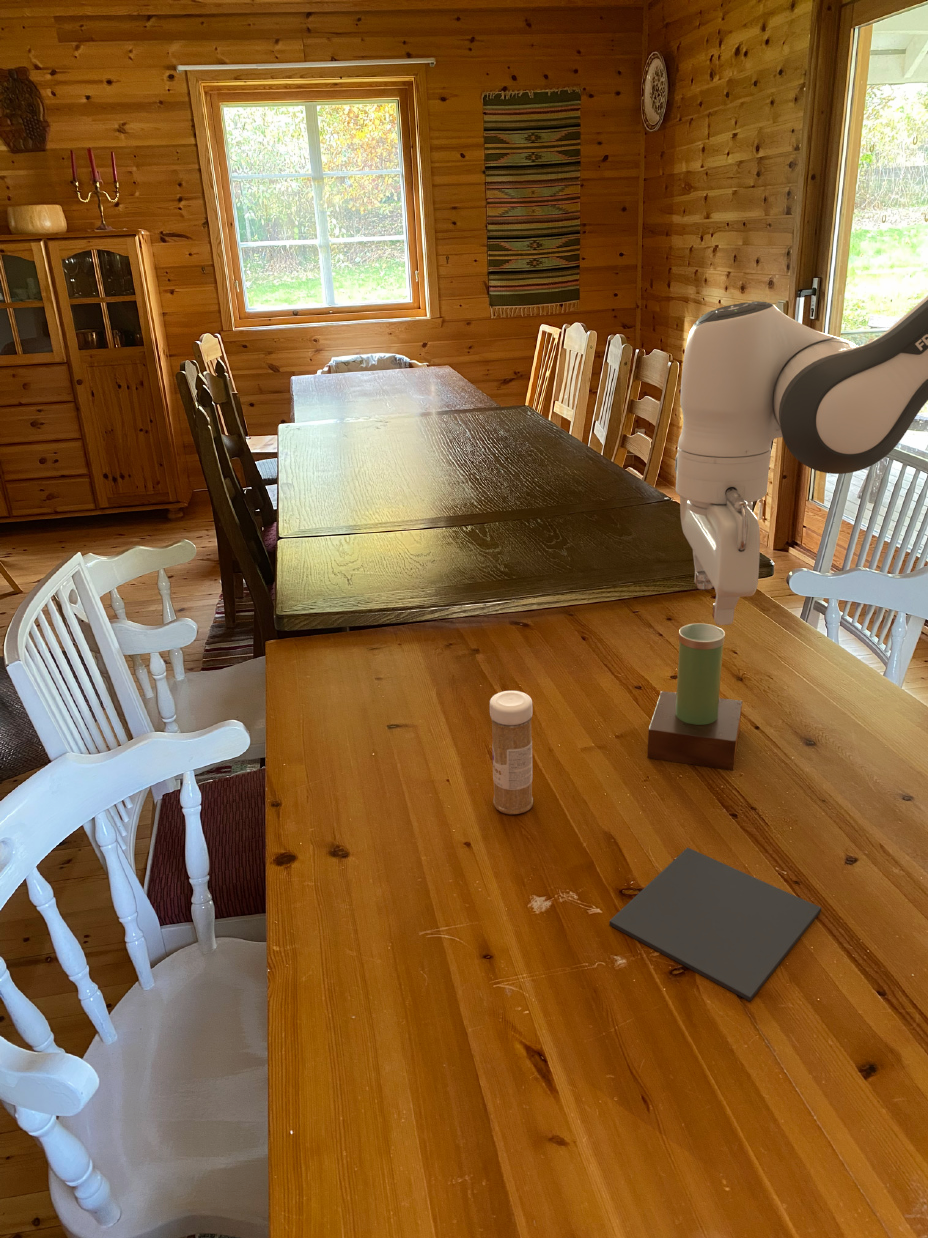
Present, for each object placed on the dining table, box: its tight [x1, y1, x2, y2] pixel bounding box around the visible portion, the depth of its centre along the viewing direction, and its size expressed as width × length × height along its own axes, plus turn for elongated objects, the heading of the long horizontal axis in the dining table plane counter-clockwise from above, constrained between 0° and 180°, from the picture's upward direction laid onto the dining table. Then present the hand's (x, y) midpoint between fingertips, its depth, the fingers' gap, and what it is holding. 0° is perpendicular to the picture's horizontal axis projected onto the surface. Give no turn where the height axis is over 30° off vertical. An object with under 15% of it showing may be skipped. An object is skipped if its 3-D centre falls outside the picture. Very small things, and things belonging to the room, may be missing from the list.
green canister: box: [676, 623, 726, 725], centre depth 109 cm, size 5×5×11 cm
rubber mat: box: [608, 847, 822, 1002], centre depth 85 cm, size 14×14×1 cm
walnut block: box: [646, 690, 743, 771], centre depth 112 cm, size 10×10×4 cm
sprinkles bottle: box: [489, 690, 534, 815], centre depth 100 cm, size 5×5×14 cm
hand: (712, 603), depth 96 cm, fingers open, 8 cm apart
